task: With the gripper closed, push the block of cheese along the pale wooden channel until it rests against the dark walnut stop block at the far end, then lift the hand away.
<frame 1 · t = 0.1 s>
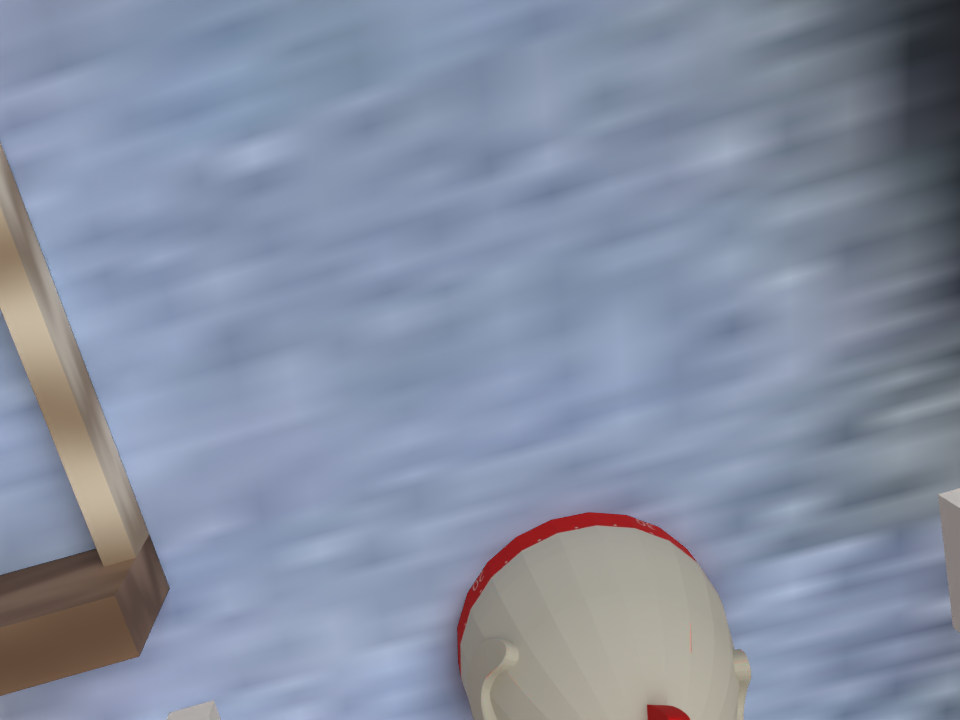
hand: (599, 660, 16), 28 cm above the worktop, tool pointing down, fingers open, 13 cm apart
kitchen timer: (585, 631, 48), on the worktop
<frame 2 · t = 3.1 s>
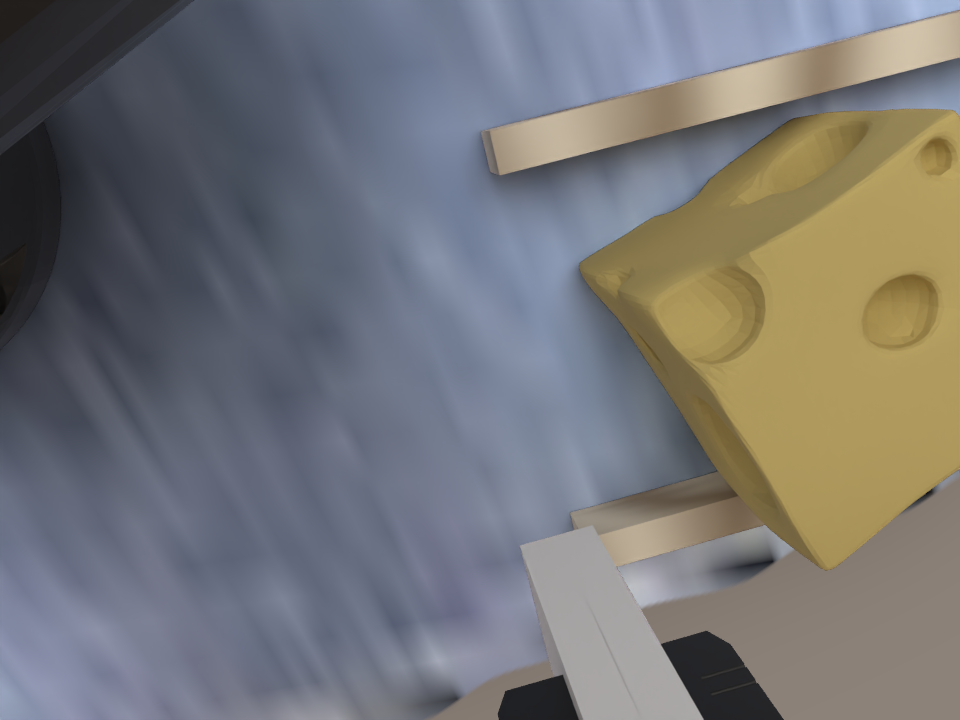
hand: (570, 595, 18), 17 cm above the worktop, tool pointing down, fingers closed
cheese: (749, 291, 35), resting in channel
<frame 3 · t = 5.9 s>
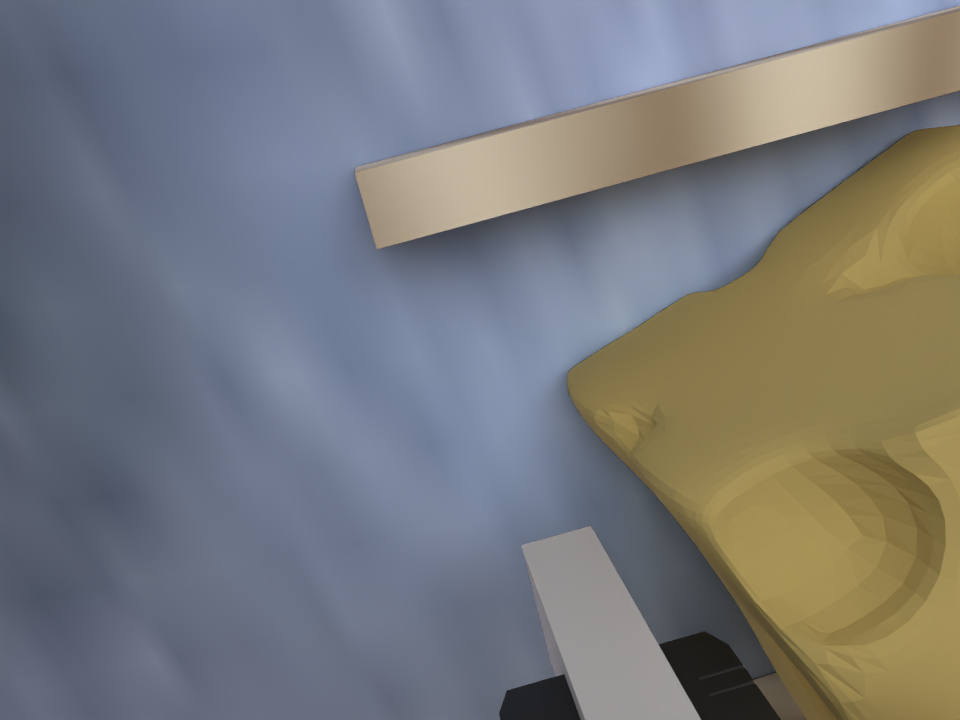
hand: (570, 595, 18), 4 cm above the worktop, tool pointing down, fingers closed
cheese: (838, 403, 22), resting in channel, touching gripper
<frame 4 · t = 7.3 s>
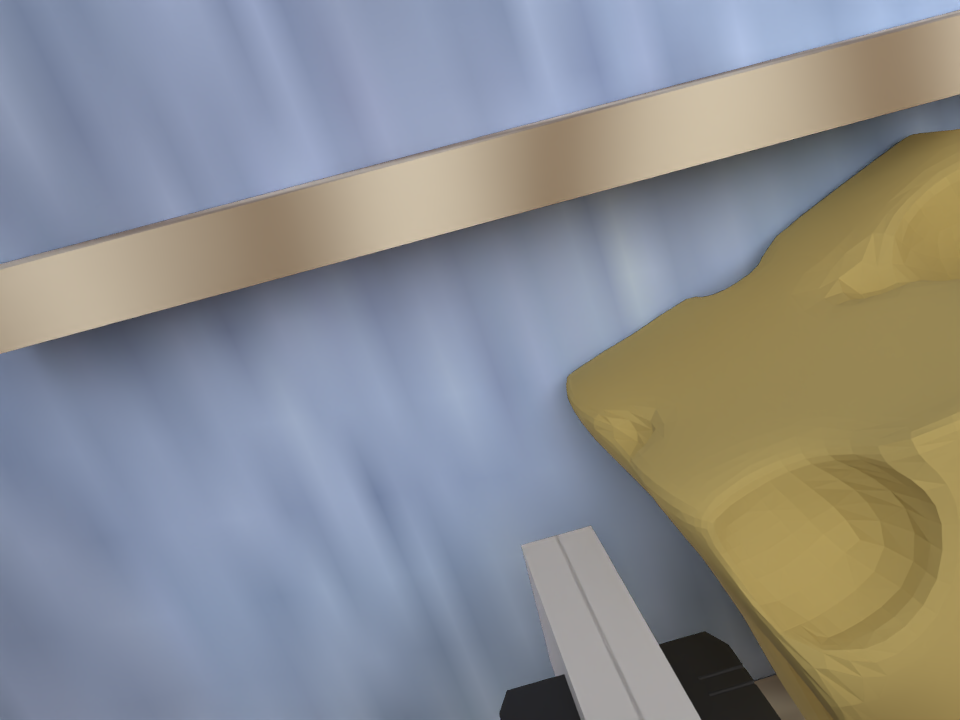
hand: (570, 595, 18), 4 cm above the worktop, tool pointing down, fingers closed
channel: (846, 404, 22), on the worktop
cheese: (837, 406, 22), resting in channel, touching gripper
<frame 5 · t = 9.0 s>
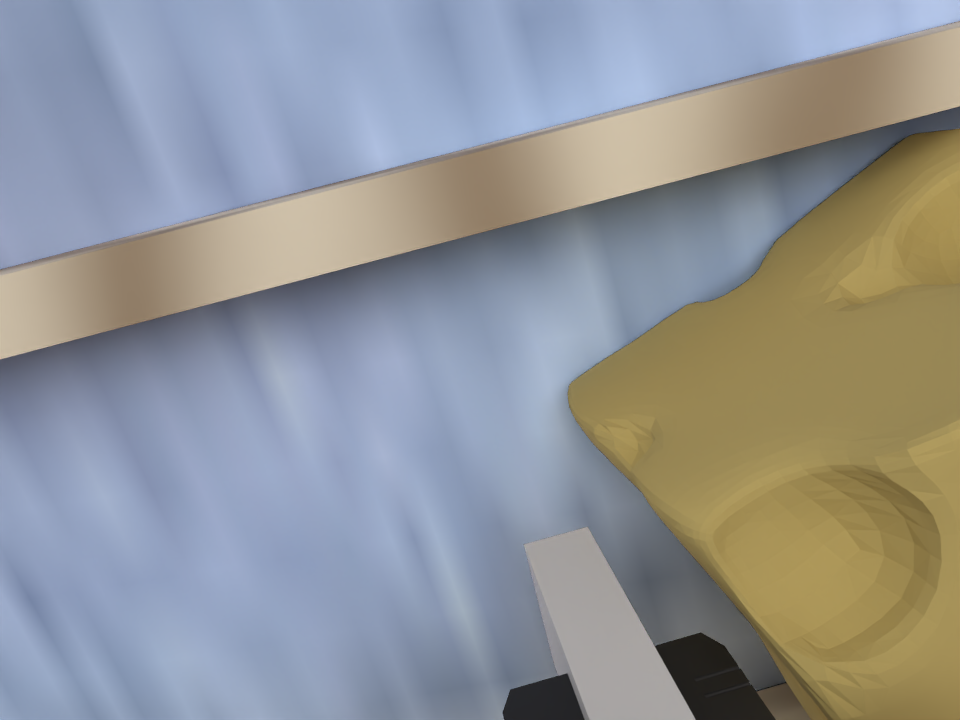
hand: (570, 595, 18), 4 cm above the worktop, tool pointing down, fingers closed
channel: (524, 505, 22), on the worktop
cheese: (842, 408, 22), resting in channel, touching gripper
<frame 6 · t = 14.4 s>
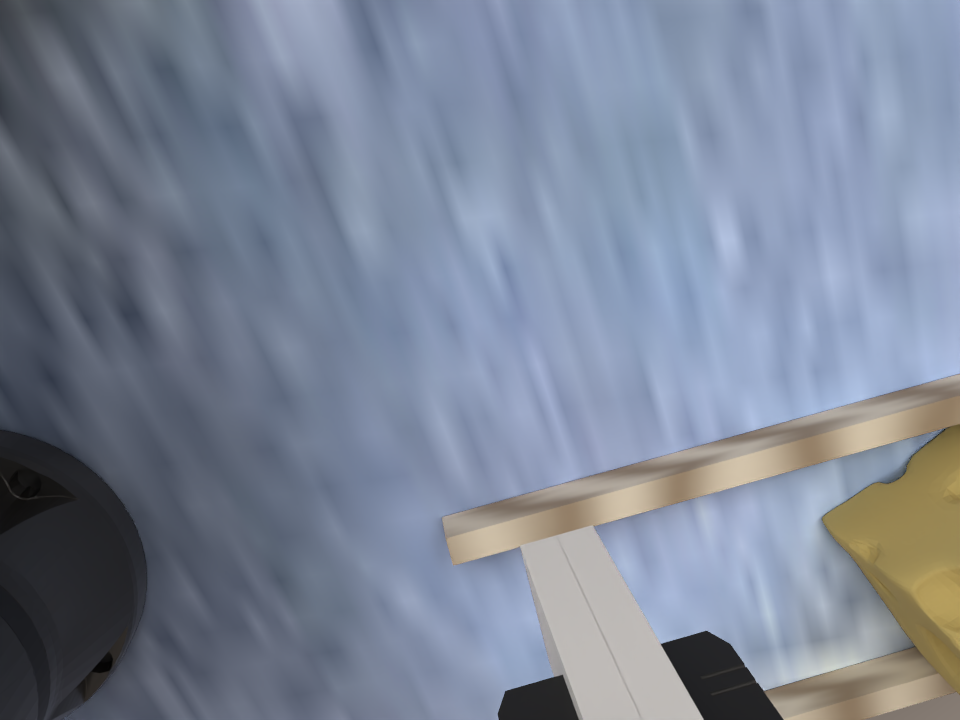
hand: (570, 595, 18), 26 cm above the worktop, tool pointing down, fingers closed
channel: (799, 567, 49), on the worktop
cheese: (937, 524, 50), resting in channel
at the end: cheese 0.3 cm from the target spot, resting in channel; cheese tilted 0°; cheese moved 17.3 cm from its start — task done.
